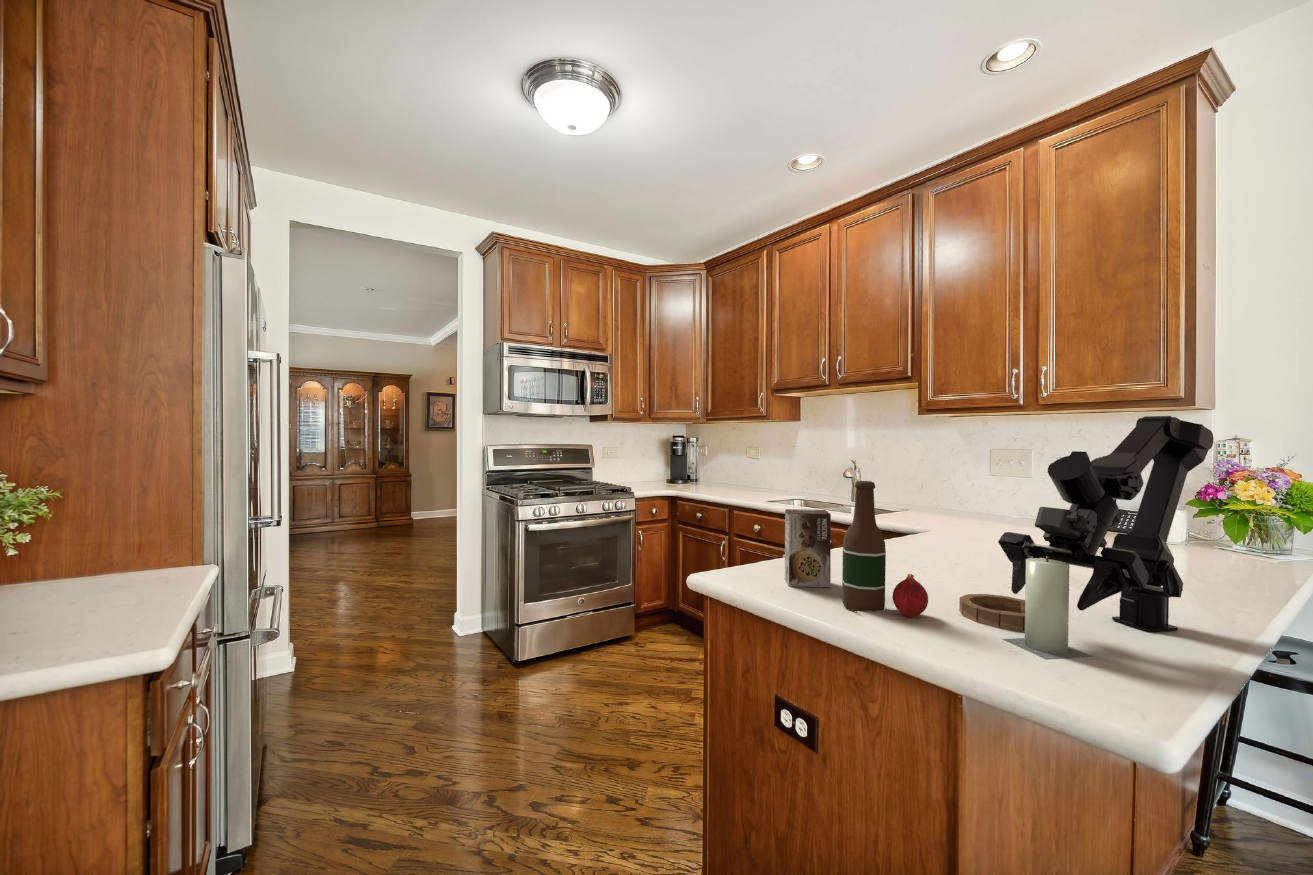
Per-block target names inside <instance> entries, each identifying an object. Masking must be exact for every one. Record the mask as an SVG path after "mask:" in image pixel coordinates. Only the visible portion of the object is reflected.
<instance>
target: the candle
mask: <svg viewBox="0 0 1313 875" xmlns="http://www.w3.org/2000/svg"><path fill="white" fill-rule="evenodd" d="M1024 597H1025V598H1024V600H1025V631H1024V638H1025V645H1026V646H1027V647H1029V648H1031V649H1034V650H1037V651H1040V652H1045V653H1050V654H1066V653H1068V646H1069V625H1070V624H1069V622H1070V620H1069V618H1070V617H1069V616H1070V615H1069V612H1070V605H1069V604H1070V564H1068V563H1065V562H1062V561H1057V560H1050V559H1049V557H1046V559H1044V558H1029V559H1026V584H1025V596H1024Z"/></svg>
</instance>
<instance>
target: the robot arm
mask: <svg viewBox="0 0 1313 875" xmlns="http://www.w3.org/2000/svg"><path fill="white" fill-rule="evenodd" d="M1213 444H1214V433H1213V432H1212V430H1211V429H1209V428H1207V427H1206V426H1204V424H1201V423H1195V422H1192V421H1191V422H1190V421H1187V420H1186V421H1185V420H1181V419H1179V418H1178V417H1176V416H1171V415H1157V416H1156V415H1154V416H1153V415H1152V416H1150V415H1149V416H1147V415H1146V416H1143V417H1139V418H1138V419H1137V421H1136V424H1135V427H1134V428H1133V429H1132V430H1131V431H1130V432H1129V433H1128V434H1127V435H1126V437H1125V438H1124V439H1123V440H1122V441H1121V442H1120V443H1119V444H1118V445H1117V447H1115V449H1113V451H1112V452H1110V453H1109V454H1107V455H1104V456H1103V455H1102V456H1099V457H1096V458H1093V459H1092V460H1091V459H1090V456H1089V454H1088V453H1087V451H1080V450H1079V451H1078V450H1077V451H1074V450H1073V451H1071V452H1070V454H1069V455H1065V456H1062V457H1060V458H1058V459H1056V460H1055V461H1053V462H1050V464H1049V465H1048V467H1047V474H1048V477H1050V480H1051V482H1052V483H1053V485H1054V487H1055V488H1056V490H1057V491H1058V494H1059V495H1060V497H1061V499H1062V500H1063V501H1064V502H1066V503H1068V504H1071V505H1070V507H1069V509H1066V508H1057V507H1050V506H1039V508H1038V511H1037V512H1038V513H1037V514H1036V515H1037V516H1036V519H1035V523H1034V527H1035V528H1037V529H1041V530H1042V531H1043V532H1044V533H1043V535H1042V538H1043V540H1044V541H1045V542H1048V543H1049V545H1042V544H1037V543H1035V541H1034V539H1033V538H1032V537H1031V535H1030V534H1025V533H1024V534H1023V533H1018V532H1012V531H1005V532H1004V533H1003V534H1001V536H1000V538H999V539H998V542H997V543H998V545H1000V548H1001V549H1002V551H1003V553H1004V554H1005V556H1006V557H1007V559H1008V560H1009V562H1010V563H1012V574H1011V588H1010V589H1011V592H1012V593H1013V594H1014V595H1017V594H1018V593H1019V592H1020V591H1021V590H1023V588H1024V586H1026V559H1029V558H1041V559H1046V557H1049V559H1050V560H1057V561H1062V562H1065V563H1068V564H1069V566H1070V565H1071V566H1076V567H1081V568H1087V569H1092V575H1091V576H1090V578H1089V580H1088V582H1087V584H1086V585H1085V587H1084V588H1083V590H1082V592H1081V594H1080V596H1079V598H1078V601H1077V604H1076V607H1077V609H1078V610H1079V611H1081V612H1082V611H1085V610H1087V609H1088V608H1090V607H1092V606H1094V605H1096V604H1097V603H1099V602H1101V601H1103V600H1105V599H1106V598H1107V599H1108V598H1109V597H1112V596H1114V595H1117V594H1119V593H1120V597H1119V615H1118V616H1112V617H1111V619H1112V621H1115V622H1119V623H1121V624H1123V625H1124V624H1125V625H1127V626H1130V627H1133V628H1136V629H1139V630H1142V631H1145V632H1166V631H1178V630H1179V627H1178V626H1176V625H1172V624H1169V618H1170V617H1169V608H1170V607H1169V606H1170V604H1169V603H1170V598H1181V597H1182V593H1183V591H1184V582H1183V580H1182V578H1181V576H1180V574H1179V572H1178V571H1177V568H1176V567H1175V564H1174V562H1175V558H1174V555H1173V553H1172V552H1171V549H1170V548H1169V546H1168V543H1167V541H1168V538H1169V535H1170V533H1171V532H1170V531H1171V528H1172V525H1173V521H1174V518H1175V515H1176V512H1177V508H1178V504H1179V502H1180V498H1181V497H1182V496H1181V495H1182V492H1183V488H1184V486H1185V482H1186V478H1187V475H1188V473H1189V472H1190V471H1193V470H1194V469H1195V468H1196V467H1198V466H1199V465H1201V464H1202V463H1204V461H1205V459H1206V457H1207V454H1208V452H1209V450H1211V449H1212V447H1213ZM1151 461H1153V463H1152V467H1151V470H1150V474H1149V476H1148V479H1147V483H1146V486H1145V488H1144V491H1143V493H1142V497H1141V500H1140V503H1139V507H1138V509H1137V513H1136V516H1135V519H1134V522H1133V525H1132V529H1131V530H1130V531H1128V532H1127V533H1122V532H1118V533H1117V534H1116V535H1115V536H1114V539H1113V543H1112V546H1111V547H1109V546H1107V545H1108V542H1107V540H1106V538H1105V537H1106V536H1107V533H1108V531H1109V529H1110V527H1111V525H1112V523H1114V524H1120V523H1121V515H1120V513H1119V510H1120V509H1119V505H1118V504H1117V502H1116V500H1120V501H1121V500H1122V501H1132V500H1133V499H1134V498H1136V497H1137V496H1138V494H1139V493H1141V490H1142V488H1143V486H1144V480H1143V476H1142V472H1143V471H1144V470H1145V468H1146V467H1147V466H1148V465H1149V464H1150V463H1151ZM1106 546H1107V547H1106ZM1099 548H1101V550H1100V555H1097V552H1098V550H1099Z"/></svg>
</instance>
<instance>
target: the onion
mask: <svg viewBox="0 0 1313 875" xmlns="http://www.w3.org/2000/svg"><path fill="white" fill-rule="evenodd" d="M892 602H893V604H894V606H895V608H896V609H897V610H898V612H899V613H900V614H902V615H903V617H907V618H916V617H918V616H920V615H921V614H922V613H923V612H925V611H926V609H927V607H928V604H929V595H928V592H927V590H926V589H925V587H924V586H923V585H922V584H921V583H920V581H918V580H916V579H915V574H912V573H908V574H907V576H906V578H905V579H903V580H901V581H899V583H898V584H897V585H895V587H894V589H893V591H892Z"/></svg>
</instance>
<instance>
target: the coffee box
mask: <svg viewBox="0 0 1313 875" xmlns="http://www.w3.org/2000/svg"><path fill="white" fill-rule="evenodd" d="M784 510H785V511H784V518H785V521H784V523H785V526H784V527H785V528H784V580H785V583H786V584H787V586H788V587H796V588H797V587H803V588H805V587H806V588H831V582H832V581H831V573H832V572H831V564H832V562H831V556H832V555H831V554H832V553H831V533H832V531H831V530H832V529H831V525H832V522H831V521H832V520H831V519H832V517H831V516H832V514H831V512H829V511H827V510H826V509H807V508H806V509H798V508H795V509H794V508H793V509H792V508H791V509H790V508H789V509H788V508H786V509H784Z"/></svg>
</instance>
